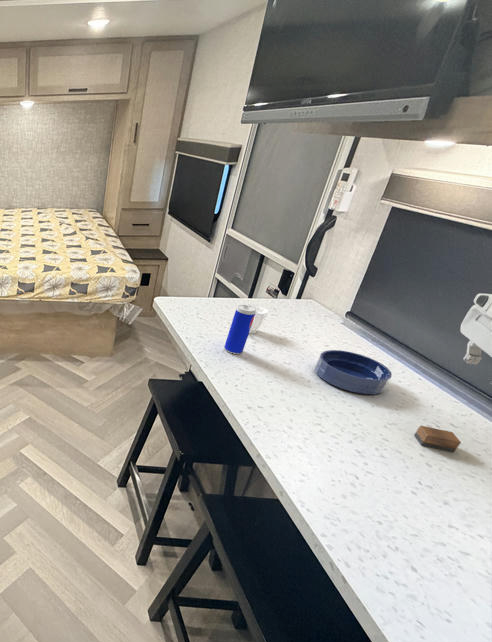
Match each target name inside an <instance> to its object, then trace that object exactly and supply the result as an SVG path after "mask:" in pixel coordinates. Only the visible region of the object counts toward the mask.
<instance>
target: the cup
mask: <svg viewBox="0 0 492 642" xmlns="http://www.w3.org/2000/svg"><path fill="white" fill-rule="evenodd" d="M248 306H252V307H254V308H255V309H256V314H255V317H254V320H253V323H252V326H251V329H250V332H249V334H256V333H257V331H258V329H260V327H261V326H262V324H263V323H264V320H265V319H266V317H267V315H268V313H269V311H268V310H267V308H265V307H262V306H259V305H252V304H248Z"/></svg>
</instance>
